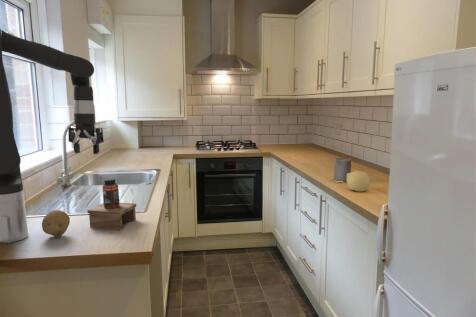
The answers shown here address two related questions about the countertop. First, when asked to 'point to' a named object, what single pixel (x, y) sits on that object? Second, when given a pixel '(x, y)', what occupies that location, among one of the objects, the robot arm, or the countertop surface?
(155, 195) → the countertop surface
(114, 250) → the countertop surface
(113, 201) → the supplement bottle
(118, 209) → the walnut shelf
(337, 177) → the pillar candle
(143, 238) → the countertop surface
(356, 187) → the tan rounded lump
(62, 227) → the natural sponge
